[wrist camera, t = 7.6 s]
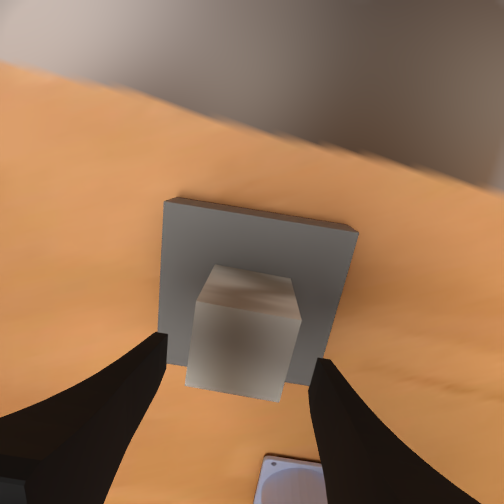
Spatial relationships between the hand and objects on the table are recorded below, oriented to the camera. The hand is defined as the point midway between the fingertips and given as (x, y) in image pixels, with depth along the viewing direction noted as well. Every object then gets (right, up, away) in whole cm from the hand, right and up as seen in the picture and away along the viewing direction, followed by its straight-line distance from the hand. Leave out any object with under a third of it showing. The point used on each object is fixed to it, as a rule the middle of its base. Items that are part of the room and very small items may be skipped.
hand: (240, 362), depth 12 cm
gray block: (0, +2, +5) cm, 6 cm away
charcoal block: (0, +3, +8) cm, 9 cm away
